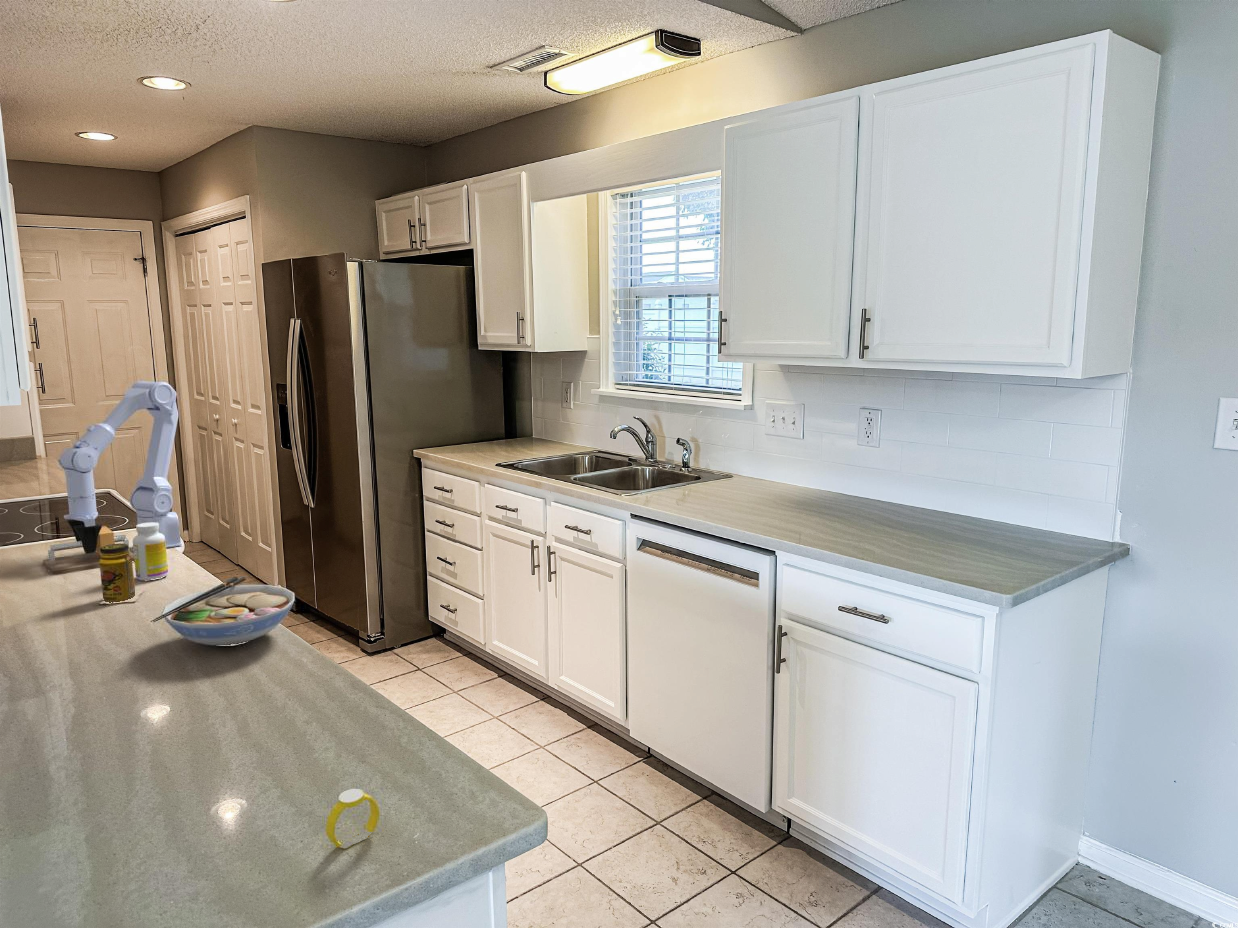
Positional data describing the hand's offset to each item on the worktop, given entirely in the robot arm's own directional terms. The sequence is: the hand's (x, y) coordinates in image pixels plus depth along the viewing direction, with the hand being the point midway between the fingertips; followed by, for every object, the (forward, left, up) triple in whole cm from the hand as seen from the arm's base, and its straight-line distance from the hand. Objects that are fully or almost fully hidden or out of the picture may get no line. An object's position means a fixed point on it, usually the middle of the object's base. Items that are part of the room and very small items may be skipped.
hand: (87, 549), depth 208 cm
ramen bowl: (-9, +78, -4) cm, 78 cm away
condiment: (0, +36, -4) cm, 36 cm away
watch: (+1, +152, -4) cm, 152 cm away
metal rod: (-1, 0, -3) cm, 3 cm away
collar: (-4, 0, -1) cm, 4 cm away
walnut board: (-1, 0, -3) cm, 3 cm away
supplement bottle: (-9, +24, -4) cm, 26 cm away
